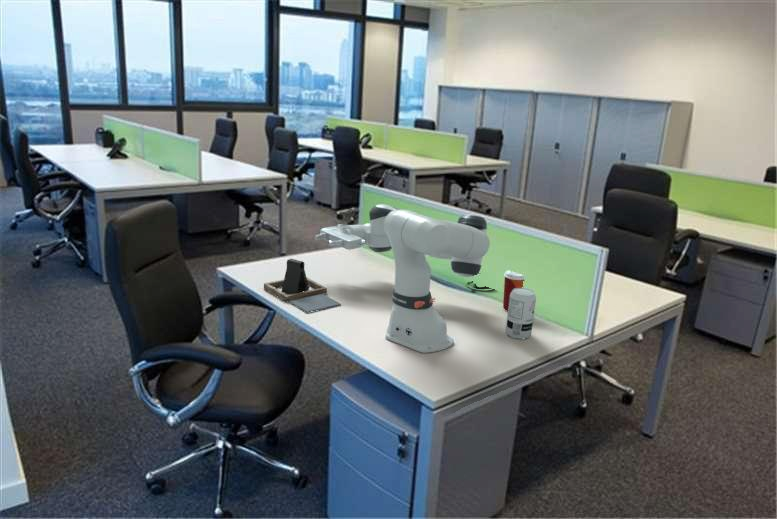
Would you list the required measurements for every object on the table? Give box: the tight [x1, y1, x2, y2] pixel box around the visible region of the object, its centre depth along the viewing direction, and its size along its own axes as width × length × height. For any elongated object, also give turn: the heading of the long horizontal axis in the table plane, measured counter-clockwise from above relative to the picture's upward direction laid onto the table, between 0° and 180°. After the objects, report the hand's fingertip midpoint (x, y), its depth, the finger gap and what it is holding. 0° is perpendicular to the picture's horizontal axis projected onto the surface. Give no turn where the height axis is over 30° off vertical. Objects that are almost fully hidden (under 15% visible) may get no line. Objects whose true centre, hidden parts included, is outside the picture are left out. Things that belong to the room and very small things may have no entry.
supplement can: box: [505, 287, 537, 340], centre depth 191 cm, size 8×8×15 cm
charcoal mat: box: [288, 294, 342, 314], centre depth 210 cm, size 12×14×1 cm
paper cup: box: [502, 269, 526, 312], centre depth 212 cm, size 8×8×14 cm
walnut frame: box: [263, 276, 328, 303], centre depth 221 cm, size 16×17×2 cm
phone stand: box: [280, 258, 310, 295], centre depth 220 cm, size 9×6×12 cm, turn 150°
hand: (323, 240), depth 224 cm, fingers open, 8 cm apart
